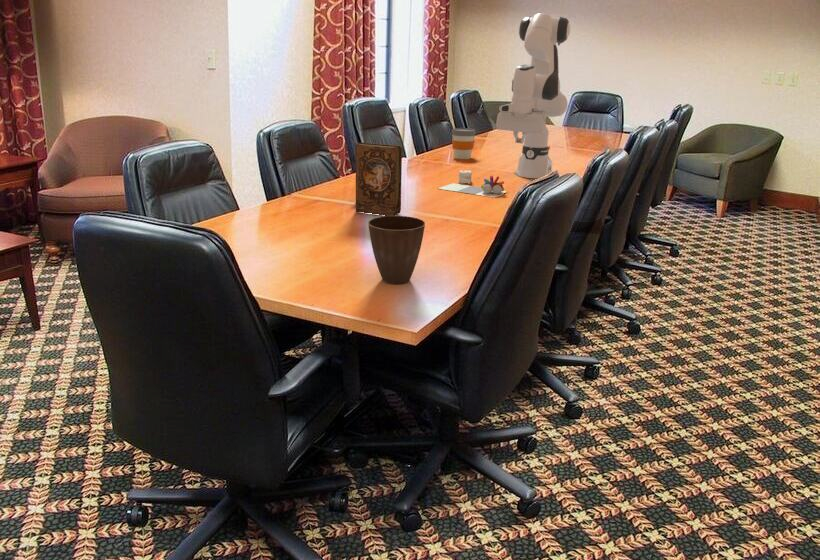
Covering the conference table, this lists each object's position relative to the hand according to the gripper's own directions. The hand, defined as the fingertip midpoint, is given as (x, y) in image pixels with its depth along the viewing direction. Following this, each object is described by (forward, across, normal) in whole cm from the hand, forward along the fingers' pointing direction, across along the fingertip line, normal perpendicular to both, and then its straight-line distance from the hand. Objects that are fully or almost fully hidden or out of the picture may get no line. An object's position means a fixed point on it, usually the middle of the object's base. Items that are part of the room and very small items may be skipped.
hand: (519, 143), depth 280 cm
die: (+22, +30, -13) cm, 40 cm away
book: (+23, +30, +58) cm, 69 cm away
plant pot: (+23, -14, +115) cm, 118 cm away
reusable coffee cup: (+22, +61, -71) cm, 96 cm away
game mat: (+22, +20, 0) cm, 29 cm away
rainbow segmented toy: (+22, +10, 0) cm, 24 cm away
